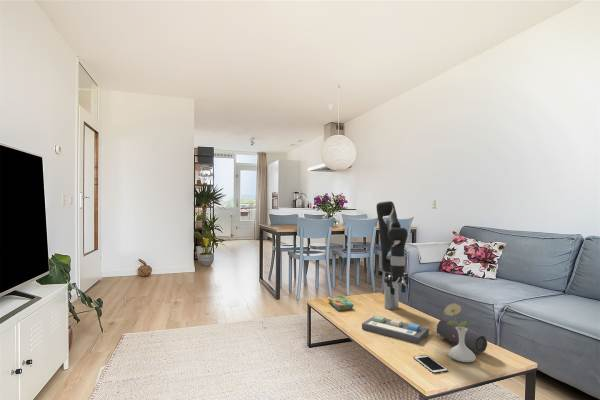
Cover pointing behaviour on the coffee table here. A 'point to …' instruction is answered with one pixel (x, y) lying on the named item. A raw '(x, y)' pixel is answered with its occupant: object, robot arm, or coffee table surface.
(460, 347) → the flower in vase
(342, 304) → the puzzle game
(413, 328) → the button blue
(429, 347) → the coffee table surface
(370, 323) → the button board
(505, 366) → the coffee table surface
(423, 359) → the cell phone
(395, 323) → the button sand
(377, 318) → the button sage
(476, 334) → the bluetooth speaker
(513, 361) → the coffee table surface
